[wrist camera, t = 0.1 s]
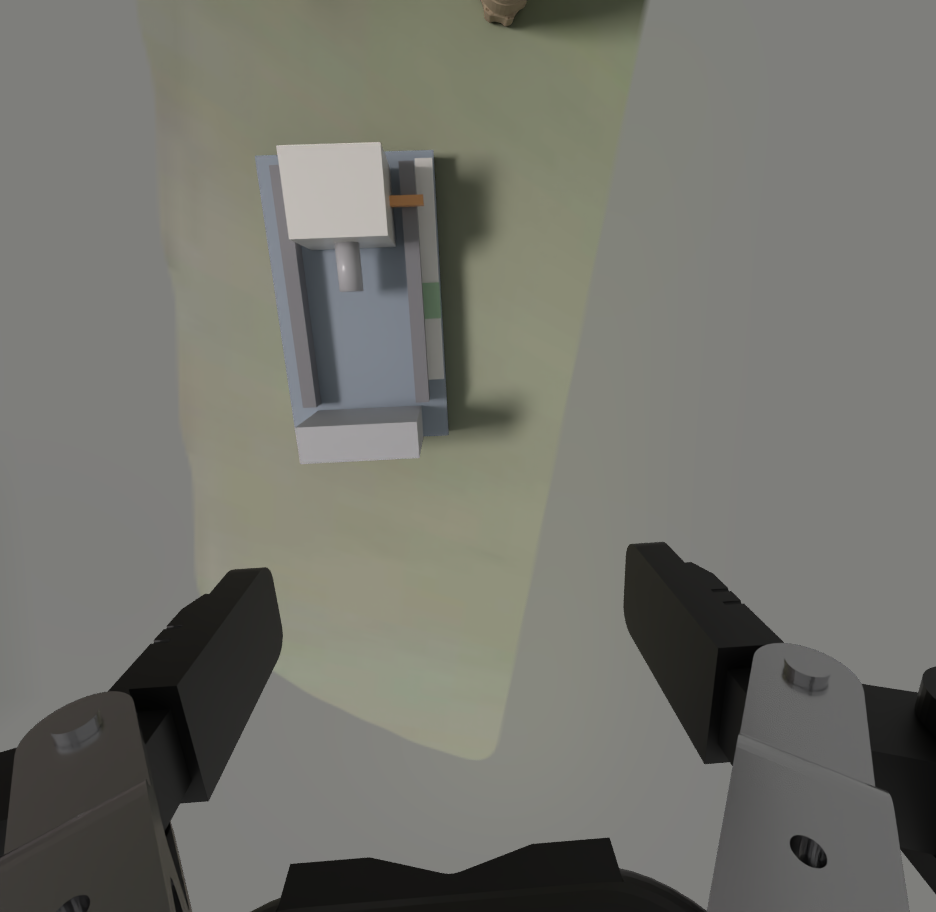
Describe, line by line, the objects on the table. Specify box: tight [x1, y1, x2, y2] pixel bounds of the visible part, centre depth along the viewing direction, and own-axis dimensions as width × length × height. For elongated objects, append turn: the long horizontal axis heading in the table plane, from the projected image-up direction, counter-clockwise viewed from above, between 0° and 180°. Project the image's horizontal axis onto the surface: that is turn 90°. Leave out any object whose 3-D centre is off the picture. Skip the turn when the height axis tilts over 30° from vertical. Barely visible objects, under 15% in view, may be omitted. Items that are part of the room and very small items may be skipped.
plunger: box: [276, 142, 424, 292], centre depth 31 cm, size 8×8×5 cm
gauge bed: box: [255, 150, 449, 464], centre depth 33 cm, size 20×12×8 cm, turn 2°
